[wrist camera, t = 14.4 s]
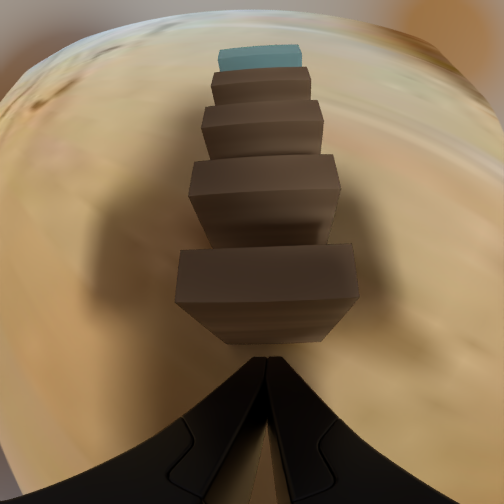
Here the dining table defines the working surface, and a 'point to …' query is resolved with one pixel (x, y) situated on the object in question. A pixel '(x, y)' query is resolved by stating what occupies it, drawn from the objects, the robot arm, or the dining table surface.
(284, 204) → the domino
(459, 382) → the dining table surface
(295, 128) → the domino
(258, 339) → the domino
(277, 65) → the end domino
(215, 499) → the robot arm
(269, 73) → the domino
